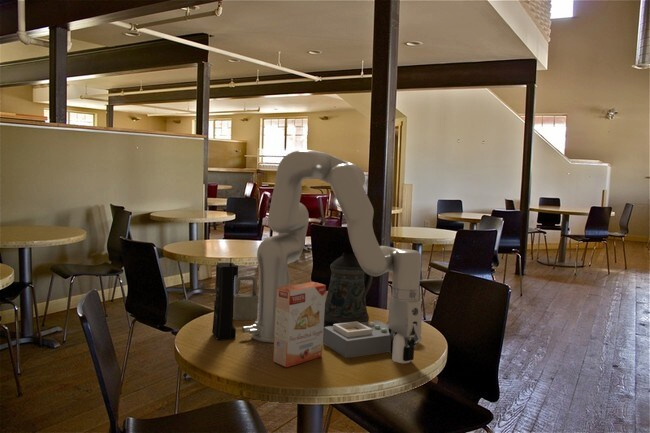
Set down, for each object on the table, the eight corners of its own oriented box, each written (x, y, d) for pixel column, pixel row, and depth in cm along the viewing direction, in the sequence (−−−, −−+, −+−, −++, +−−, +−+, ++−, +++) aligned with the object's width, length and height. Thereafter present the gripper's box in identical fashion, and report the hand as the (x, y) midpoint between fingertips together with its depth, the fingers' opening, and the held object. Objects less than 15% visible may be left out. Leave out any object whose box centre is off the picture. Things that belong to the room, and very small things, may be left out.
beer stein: (313, 328, 175) (316, 254, 173) (331, 314, 194) (334, 246, 192) (361, 335, 170) (365, 258, 168) (375, 320, 189) (379, 251, 186)
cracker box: (287, 369, 139) (290, 290, 137) (272, 362, 143) (275, 286, 141) (323, 356, 149) (327, 284, 147) (308, 351, 153) (311, 280, 151)
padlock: (232, 317, 184) (233, 275, 183) (255, 316, 187) (256, 274, 185) (234, 320, 180) (235, 277, 179) (258, 319, 183) (259, 276, 182)
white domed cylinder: (391, 356, 152) (392, 329, 151) (409, 357, 152) (411, 329, 151) (392, 362, 146) (394, 334, 146) (412, 363, 146) (413, 335, 146)
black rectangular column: (210, 333, 166) (212, 254, 163) (229, 331, 168) (232, 254, 166) (216, 340, 158) (218, 258, 156) (235, 339, 161) (238, 258, 159)
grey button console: (346, 358, 148) (347, 335, 148) (322, 342, 161) (323, 322, 160) (403, 349, 158) (404, 328, 157) (377, 335, 170) (378, 316, 170)
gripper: (435, 299, 142) (431, 365, 143) (397, 286, 157) (394, 345, 158) (413, 302, 138) (409, 369, 140) (376, 288, 153) (373, 348, 155)
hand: (401, 356), depth 149 cm, fingers closed on white domed cylinder, 5 cm apart
